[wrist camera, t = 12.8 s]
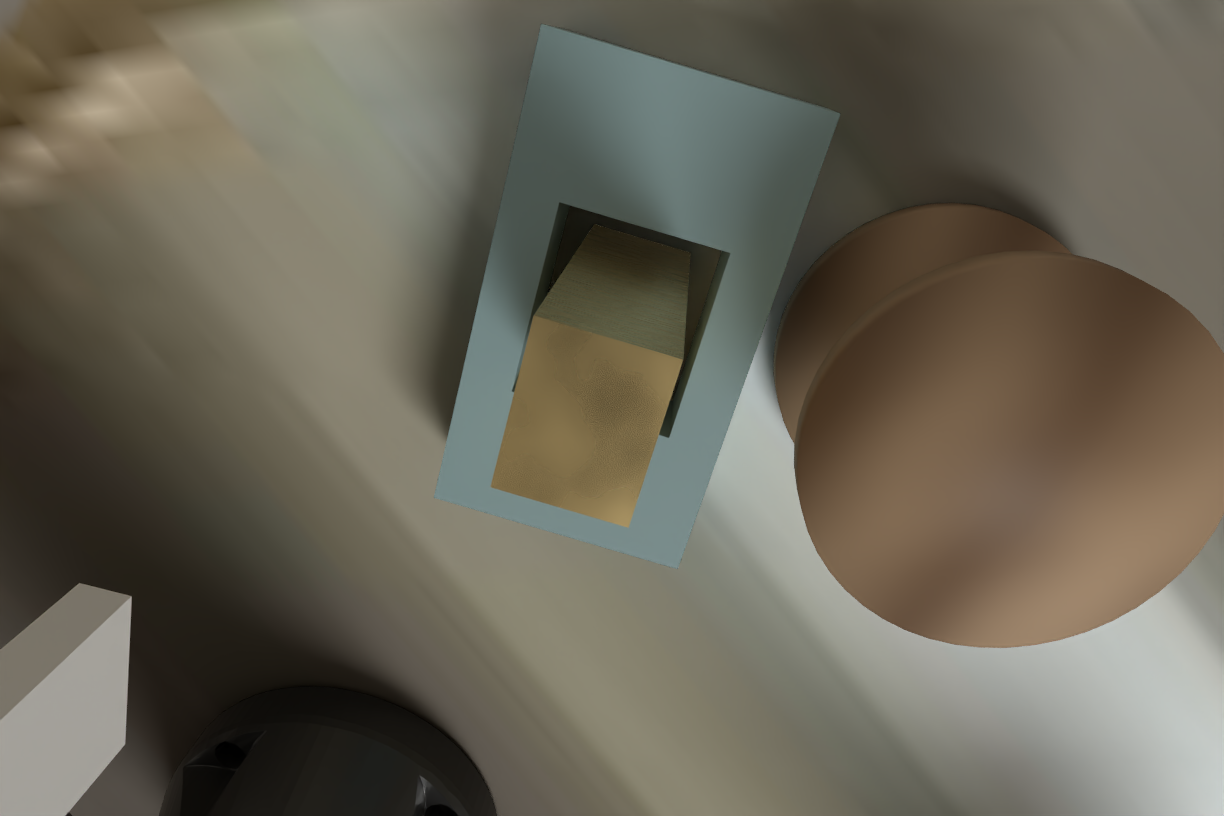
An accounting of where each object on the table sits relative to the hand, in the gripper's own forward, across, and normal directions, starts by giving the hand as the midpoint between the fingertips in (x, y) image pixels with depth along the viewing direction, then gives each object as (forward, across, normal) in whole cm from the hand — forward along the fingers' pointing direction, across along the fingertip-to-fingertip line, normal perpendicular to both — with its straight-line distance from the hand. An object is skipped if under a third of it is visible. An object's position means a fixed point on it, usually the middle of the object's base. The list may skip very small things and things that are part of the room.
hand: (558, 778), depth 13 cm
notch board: (+21, -1, +2) cm, 21 cm away
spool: (+21, +10, +2) cm, 23 cm away
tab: (+21, -1, +2) cm, 21 cm away
